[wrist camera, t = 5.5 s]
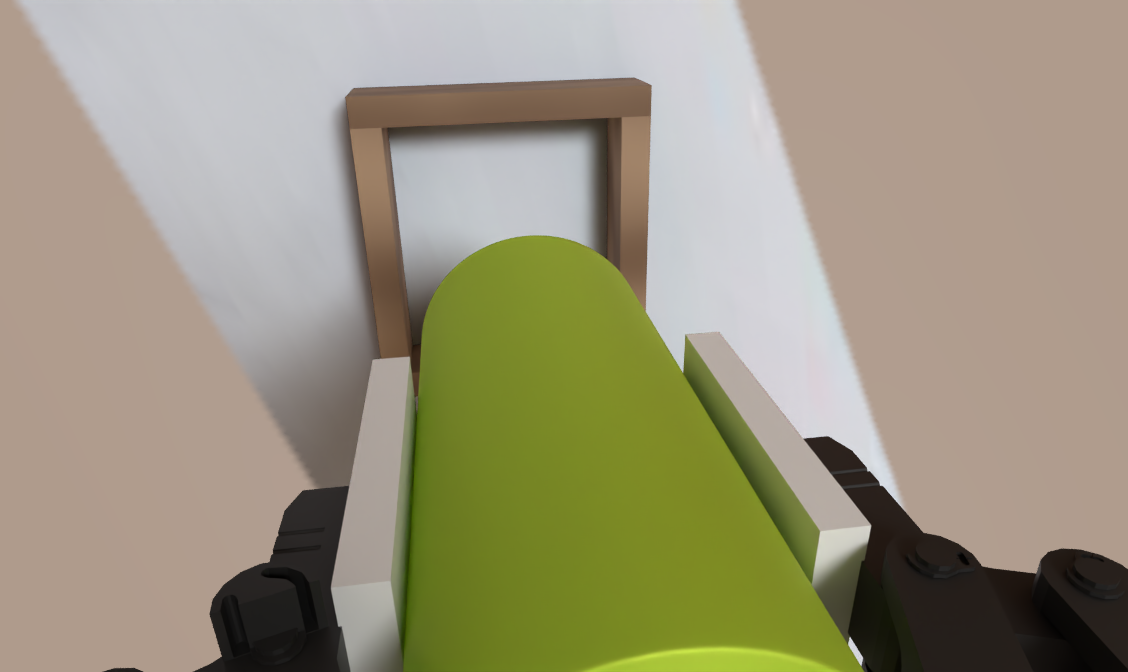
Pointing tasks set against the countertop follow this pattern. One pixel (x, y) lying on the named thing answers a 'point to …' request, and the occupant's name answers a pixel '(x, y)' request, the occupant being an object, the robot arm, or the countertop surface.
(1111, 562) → the robot arm
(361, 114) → the walnut holder
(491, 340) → the soap dispenser
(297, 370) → the countertop surface
